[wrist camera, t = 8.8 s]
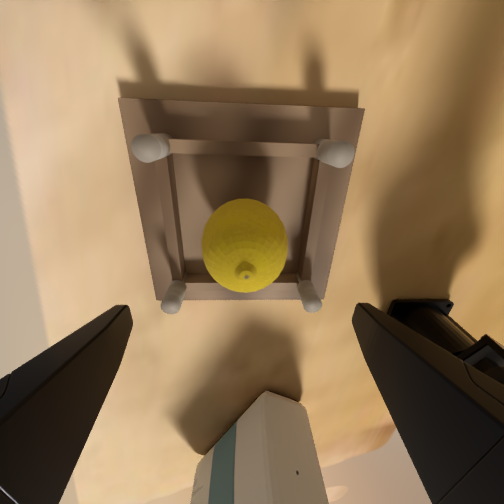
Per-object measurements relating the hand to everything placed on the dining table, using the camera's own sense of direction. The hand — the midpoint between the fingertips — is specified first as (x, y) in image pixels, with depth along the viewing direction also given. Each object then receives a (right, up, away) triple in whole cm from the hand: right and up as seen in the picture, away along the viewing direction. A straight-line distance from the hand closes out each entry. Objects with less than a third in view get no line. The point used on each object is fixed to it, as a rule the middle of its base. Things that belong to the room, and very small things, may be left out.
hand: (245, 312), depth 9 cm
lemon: (0, +5, +10) cm, 11 cm away
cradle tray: (0, +5, +11) cm, 12 cm away
